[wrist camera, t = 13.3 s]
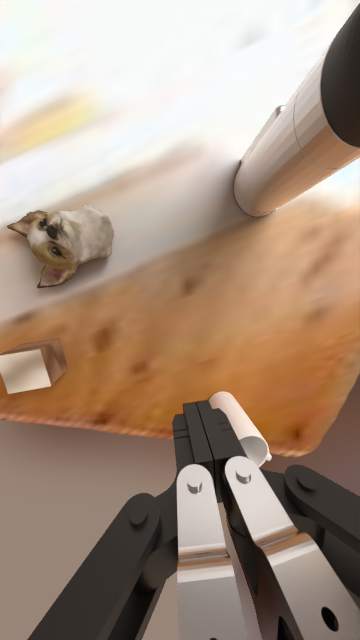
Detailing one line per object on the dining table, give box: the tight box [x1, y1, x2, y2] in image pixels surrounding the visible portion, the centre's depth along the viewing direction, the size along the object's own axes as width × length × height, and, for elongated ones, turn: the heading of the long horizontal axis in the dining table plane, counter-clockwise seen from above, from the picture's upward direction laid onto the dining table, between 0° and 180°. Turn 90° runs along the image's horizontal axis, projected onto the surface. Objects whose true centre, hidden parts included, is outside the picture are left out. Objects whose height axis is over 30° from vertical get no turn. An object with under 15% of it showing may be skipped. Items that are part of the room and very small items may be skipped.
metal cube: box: [0, 338, 68, 394], centre depth 30 cm, size 6×6×6 cm
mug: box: [209, 391, 272, 467], centre depth 34 cm, size 10×7×12 cm, turn 59°
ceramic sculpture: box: [7, 204, 114, 288], centre depth 27 cm, size 11×9×15 cm
